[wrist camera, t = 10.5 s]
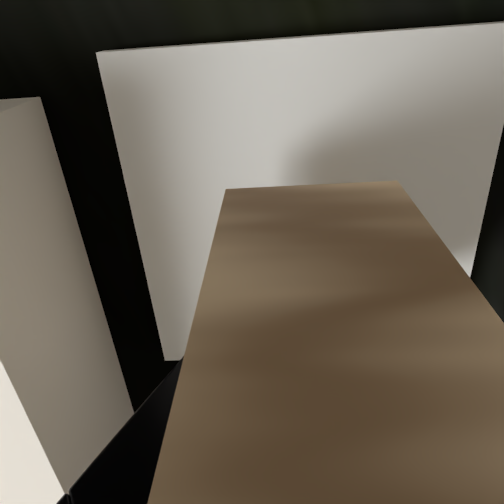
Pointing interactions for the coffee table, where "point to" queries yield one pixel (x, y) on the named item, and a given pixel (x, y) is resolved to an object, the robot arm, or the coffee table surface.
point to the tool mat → (300, 135)
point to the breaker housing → (48, 324)
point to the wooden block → (335, 360)
